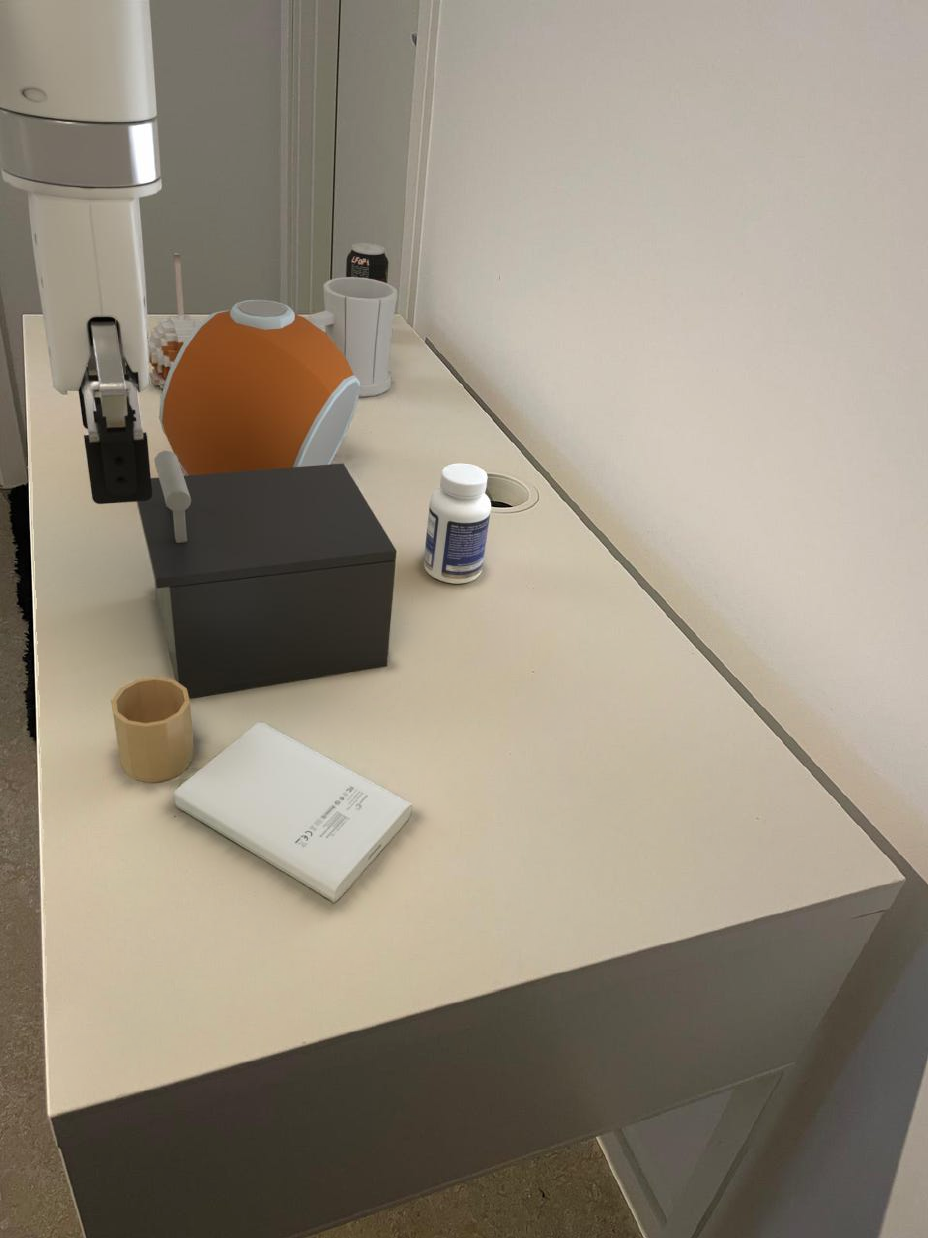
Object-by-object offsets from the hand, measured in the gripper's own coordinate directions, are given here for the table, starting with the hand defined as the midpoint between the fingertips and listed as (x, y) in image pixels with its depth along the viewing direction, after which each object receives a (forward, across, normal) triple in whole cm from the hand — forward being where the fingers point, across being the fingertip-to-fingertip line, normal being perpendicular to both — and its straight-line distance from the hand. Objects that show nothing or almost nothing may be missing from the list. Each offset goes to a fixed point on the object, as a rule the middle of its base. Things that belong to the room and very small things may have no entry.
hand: (116, 460), depth 55 cm
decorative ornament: (+18, -54, +10) cm, 58 cm away
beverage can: (+18, -70, +37) cm, 81 cm away
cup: (+18, -52, +30) cm, 63 cm away
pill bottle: (+18, -10, +28) cm, 35 cm away
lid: (+8, -4, +10) cm, 13 cm away
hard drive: (+18, +15, +8) cm, 25 cm away
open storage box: (+18, -4, +10) cm, 21 cm away
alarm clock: (+18, -30, +15) cm, 38 cm away
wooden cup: (+18, +8, 0) cm, 19 cm away
